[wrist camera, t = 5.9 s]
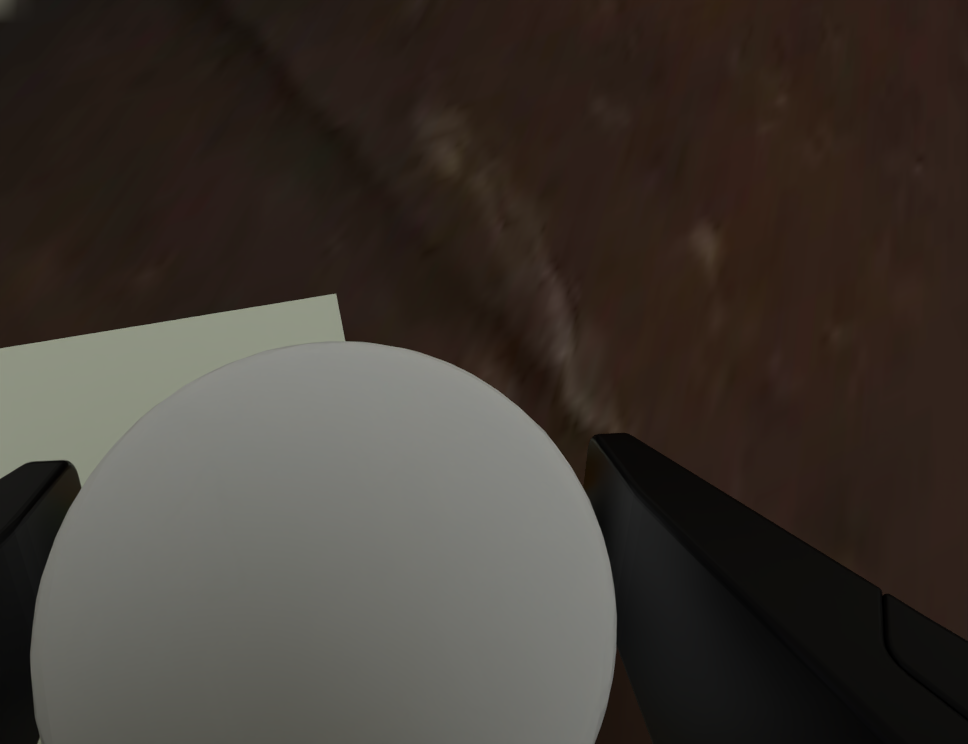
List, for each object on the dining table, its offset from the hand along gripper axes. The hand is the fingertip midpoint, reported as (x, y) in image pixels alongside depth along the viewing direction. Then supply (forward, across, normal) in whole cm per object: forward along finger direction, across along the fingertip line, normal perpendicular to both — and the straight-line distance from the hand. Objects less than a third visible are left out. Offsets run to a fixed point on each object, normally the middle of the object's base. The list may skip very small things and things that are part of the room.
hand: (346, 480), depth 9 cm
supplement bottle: (+4, 0, +6) cm, 7 cm away
